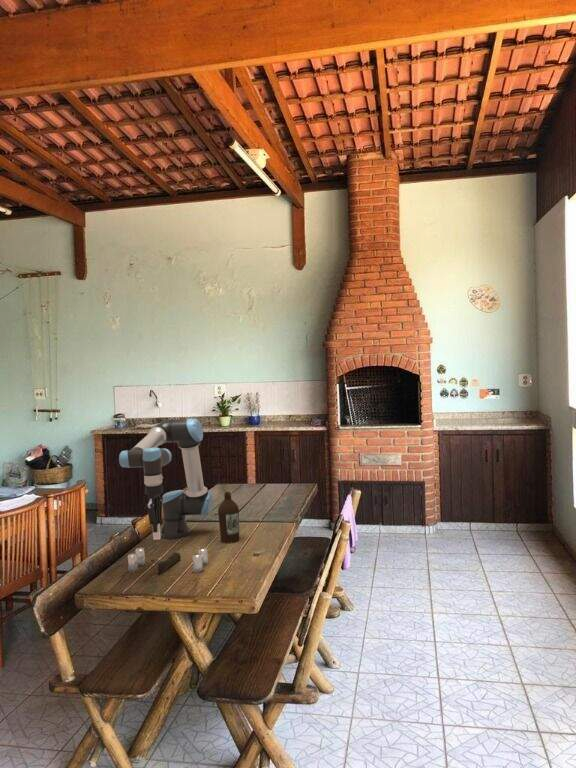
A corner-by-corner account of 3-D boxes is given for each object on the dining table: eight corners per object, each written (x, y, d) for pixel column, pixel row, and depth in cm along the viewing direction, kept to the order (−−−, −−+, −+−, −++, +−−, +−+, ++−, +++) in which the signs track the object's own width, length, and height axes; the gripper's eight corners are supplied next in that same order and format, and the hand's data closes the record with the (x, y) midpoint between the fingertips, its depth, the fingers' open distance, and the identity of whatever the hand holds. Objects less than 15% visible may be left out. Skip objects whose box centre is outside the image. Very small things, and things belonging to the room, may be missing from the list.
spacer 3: (195, 569, 253) (194, 553, 252) (203, 569, 252) (202, 553, 252) (192, 572, 249) (191, 556, 249) (201, 572, 248) (200, 556, 248)
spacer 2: (138, 562, 265) (137, 547, 265) (146, 562, 265) (145, 547, 265) (134, 565, 262) (133, 550, 261) (143, 565, 261) (142, 550, 261)
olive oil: (216, 540, 294) (213, 491, 293) (234, 535, 300) (231, 488, 299) (225, 544, 285) (222, 495, 284) (244, 540, 291) (241, 491, 290)
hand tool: (173, 560, 267) (172, 550, 266) (181, 560, 265) (180, 551, 265) (152, 575, 248) (152, 565, 248) (161, 576, 247) (160, 565, 247)
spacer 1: (131, 568, 258) (130, 553, 257) (139, 568, 257) (138, 553, 257) (127, 572, 254) (126, 556, 253) (135, 572, 253) (134, 556, 253)
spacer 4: (200, 562, 261) (199, 547, 260) (209, 562, 260) (208, 547, 260) (197, 565, 257) (197, 550, 256) (206, 566, 256) (205, 550, 256)
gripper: (156, 487, 238) (159, 543, 238) (167, 481, 250) (170, 534, 251) (139, 487, 239) (142, 543, 240) (151, 481, 252) (154, 534, 252)
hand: (157, 539), depth 245 cm, fingers closed
